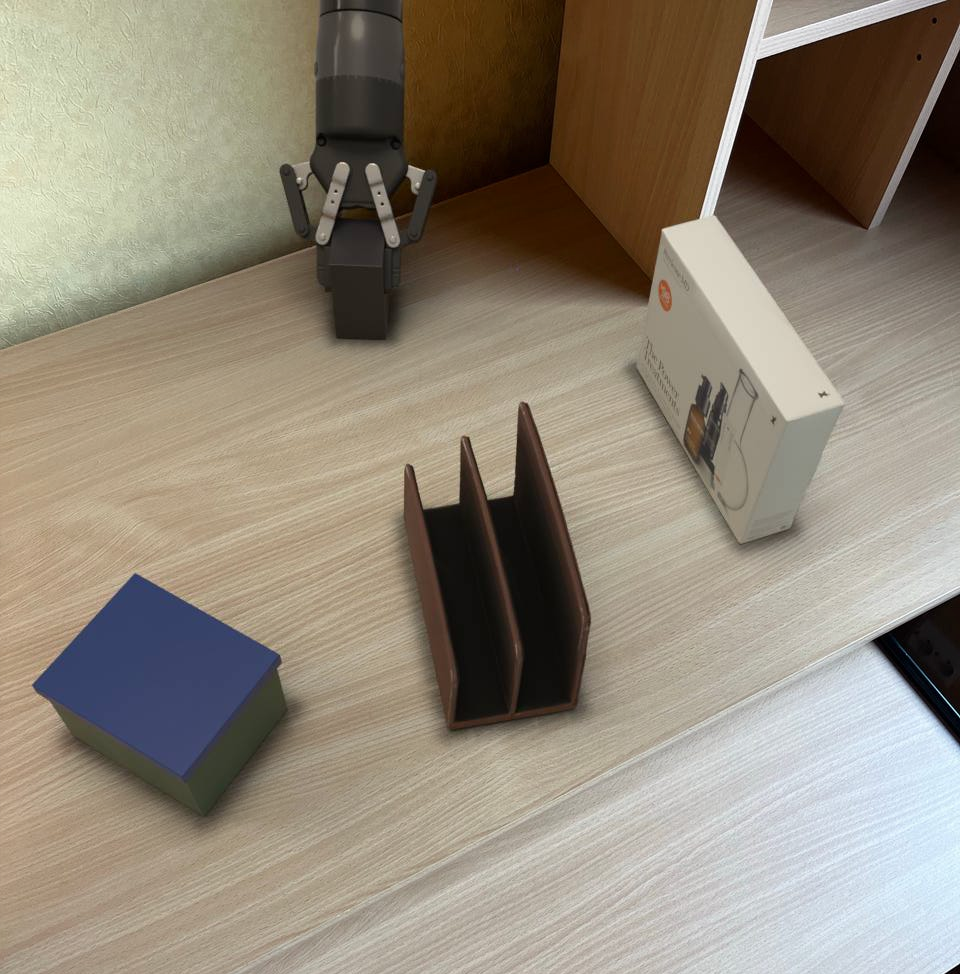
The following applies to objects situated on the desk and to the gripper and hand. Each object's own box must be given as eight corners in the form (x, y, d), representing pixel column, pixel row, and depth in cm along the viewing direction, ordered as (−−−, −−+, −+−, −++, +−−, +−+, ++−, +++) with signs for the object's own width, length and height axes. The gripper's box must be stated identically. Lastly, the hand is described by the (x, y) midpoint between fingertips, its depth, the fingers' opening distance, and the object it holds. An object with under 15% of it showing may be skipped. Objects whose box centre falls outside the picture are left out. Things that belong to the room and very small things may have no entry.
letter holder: (519, 502, 92) (533, 384, 80) (577, 710, 82) (602, 613, 70) (402, 519, 91) (397, 401, 78) (447, 733, 81) (450, 637, 69)
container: (66, 737, 80) (30, 685, 73) (159, 630, 84) (134, 572, 77) (205, 823, 77) (182, 777, 70) (293, 708, 82) (280, 654, 74)
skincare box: (628, 369, 100) (659, 225, 86) (682, 355, 101) (721, 210, 87) (734, 548, 90) (788, 419, 77) (792, 531, 92) (855, 400, 78)
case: (335, 338, 101) (328, 264, 93) (340, 292, 104) (334, 217, 96) (386, 340, 101) (382, 266, 93) (389, 294, 104) (386, 219, 96)
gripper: (445, 95, 97) (439, 297, 101) (282, 88, 96) (284, 291, 101) (443, 75, 89) (438, 294, 94) (268, 67, 89) (270, 287, 93)
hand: (358, 291), depth 97 cm, fingers closed on case, 4 cm apart
